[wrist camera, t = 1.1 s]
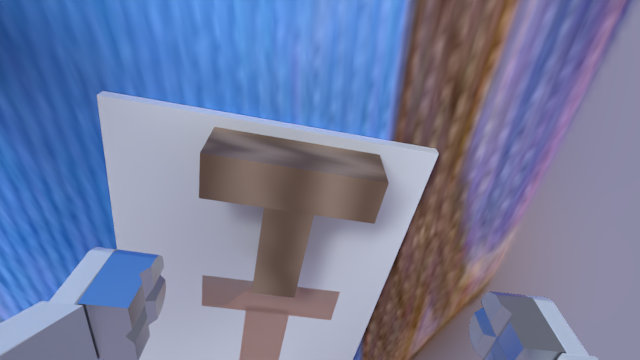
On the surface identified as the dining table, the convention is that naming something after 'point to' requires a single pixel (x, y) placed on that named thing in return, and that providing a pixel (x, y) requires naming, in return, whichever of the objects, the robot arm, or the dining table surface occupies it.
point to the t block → (289, 193)
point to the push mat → (246, 238)
